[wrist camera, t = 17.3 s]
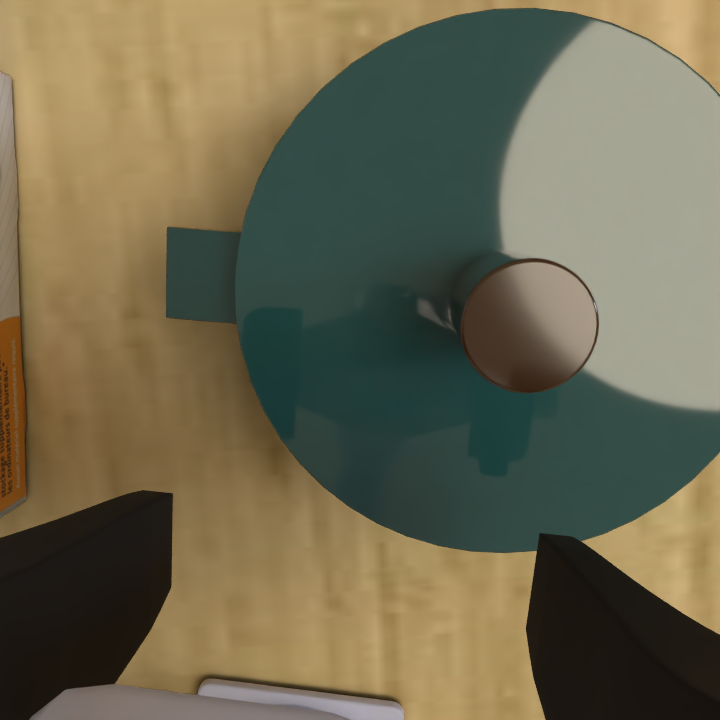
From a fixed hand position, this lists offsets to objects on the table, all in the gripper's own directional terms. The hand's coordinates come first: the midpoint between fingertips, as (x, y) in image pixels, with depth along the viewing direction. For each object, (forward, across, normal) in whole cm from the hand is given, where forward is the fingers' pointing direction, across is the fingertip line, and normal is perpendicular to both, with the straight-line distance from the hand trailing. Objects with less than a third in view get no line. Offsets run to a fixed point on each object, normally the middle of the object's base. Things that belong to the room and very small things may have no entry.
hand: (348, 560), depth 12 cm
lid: (+4, -3, -5) cm, 7 cm away
